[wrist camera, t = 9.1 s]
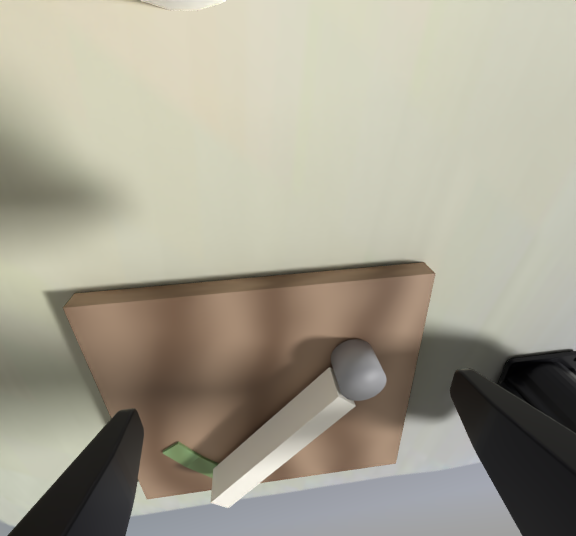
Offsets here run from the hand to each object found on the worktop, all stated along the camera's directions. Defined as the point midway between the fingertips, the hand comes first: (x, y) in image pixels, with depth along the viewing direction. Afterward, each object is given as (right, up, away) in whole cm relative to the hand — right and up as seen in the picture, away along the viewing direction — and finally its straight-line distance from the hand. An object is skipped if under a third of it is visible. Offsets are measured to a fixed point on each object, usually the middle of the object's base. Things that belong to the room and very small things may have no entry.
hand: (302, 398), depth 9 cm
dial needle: (0, -7, +16) cm, 17 cm away
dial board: (-2, -6, +17) cm, 18 cm away
